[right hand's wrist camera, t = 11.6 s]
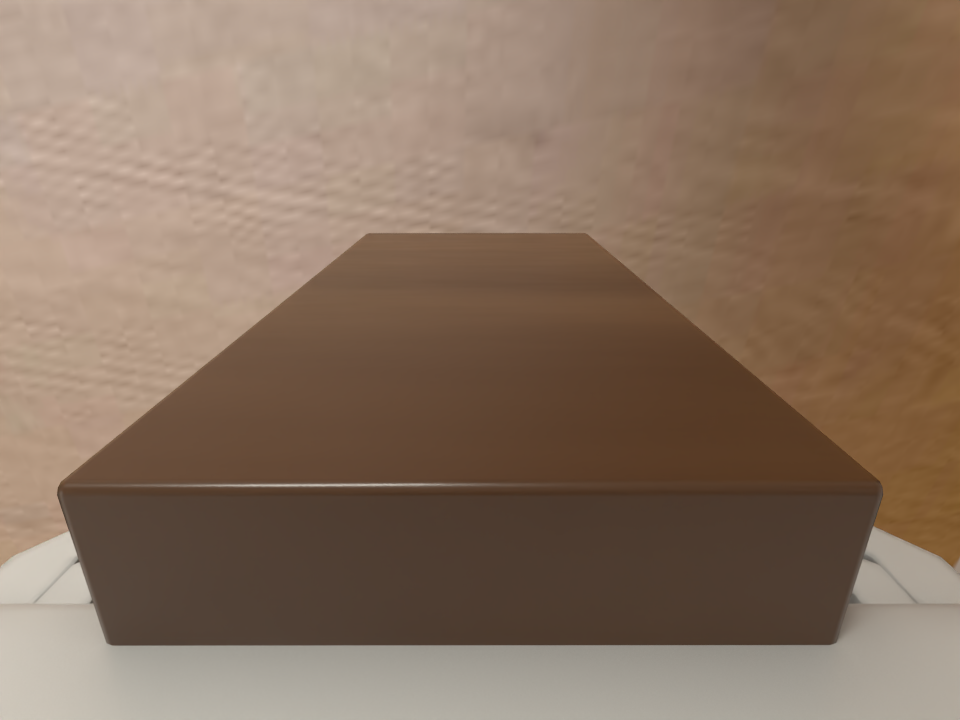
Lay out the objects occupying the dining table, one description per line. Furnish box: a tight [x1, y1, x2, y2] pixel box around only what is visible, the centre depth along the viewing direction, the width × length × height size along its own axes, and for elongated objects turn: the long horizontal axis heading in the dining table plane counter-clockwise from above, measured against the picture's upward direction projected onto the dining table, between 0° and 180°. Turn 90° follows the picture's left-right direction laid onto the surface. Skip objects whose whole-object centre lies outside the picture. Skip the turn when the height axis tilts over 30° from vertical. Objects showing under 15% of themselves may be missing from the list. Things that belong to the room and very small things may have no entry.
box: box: [57, 233, 883, 646], centre depth 13 cm, size 20×6×12 cm, turn 0°
